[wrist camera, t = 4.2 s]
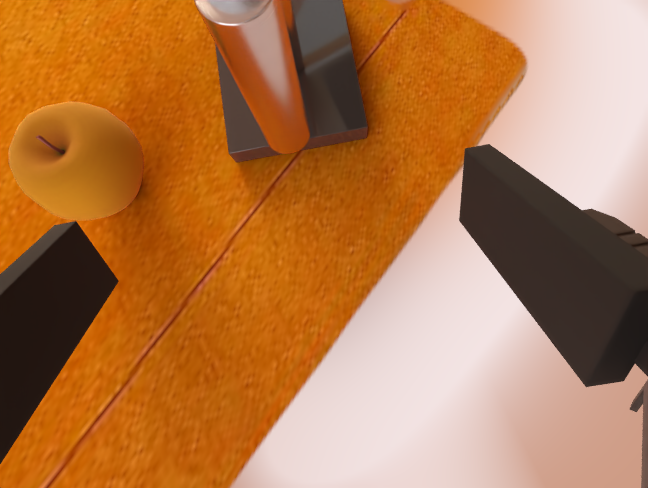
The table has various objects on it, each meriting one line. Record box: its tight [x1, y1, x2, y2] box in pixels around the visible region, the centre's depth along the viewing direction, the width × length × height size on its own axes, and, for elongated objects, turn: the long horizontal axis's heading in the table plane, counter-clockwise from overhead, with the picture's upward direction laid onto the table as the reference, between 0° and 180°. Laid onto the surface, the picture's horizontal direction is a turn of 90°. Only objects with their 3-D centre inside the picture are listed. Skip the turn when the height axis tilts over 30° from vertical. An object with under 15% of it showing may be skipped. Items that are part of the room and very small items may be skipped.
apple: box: [9, 101, 144, 221], centre depth 26 cm, size 9×9×9 cm
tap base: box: [215, 0, 368, 162], centre depth 30 cm, size 14×12×2 cm
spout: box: [194, 0, 310, 154], centre depth 19 cm, size 13×3×18 cm, turn 9°
